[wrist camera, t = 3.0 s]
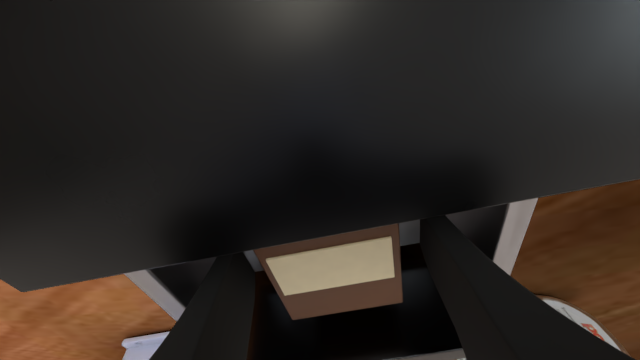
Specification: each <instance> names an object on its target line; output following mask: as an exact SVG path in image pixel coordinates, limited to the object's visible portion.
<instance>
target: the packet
mask: <svg viewBox="0 0 640 360" xmlns="http://www.w3.org/2000/svg"><path fill="white" fill-rule="evenodd" d="M253 251H254V253H255V255H256V256H257V258H258V260H259V262H260V263H261V265H262V267H263V269H264V270H265V272H266V274H267V276H268V278H269V279H270V281H271V283H272V285H273V286H274V288H275V290H276V292H277V293H278V295H279V297H280V299H281V300H282V302H283V304H284V306H285V307H286V309H287V311H288V313H289V315H290V316H291V318H292V320H297V319H303V318H309V317H315V316H322V315H328V314H334V313H340V312H346V311H353V310H359V309H365V308H371V307H377V306H383V305H390V304H396V303H402V302H403V293H402V274H401V255H400V236H399V223H398V224H393V225H388V226H382V227H377V228H371V229H366V230H360V231H355V232H349V233H344V234H338V235H333V236H328V237H322V238H317V239H311V240H306V241H300V242H295V243H289V244H284V245H278V246H273V247H267V248H262V249H257V250H253Z"/></svg>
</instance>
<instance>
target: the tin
mask: <svg viewBox="0 0 640 360" xmlns="http://www.w3.org/2000/svg"><path fill="white" fill-rule="evenodd" d="M536 296H537V297H539V298H540V299H541V300H543V301H544V302H546V303H547V304H548V305H550V306H551V307H553V308H554V309H555V310H557V311H558V312H560V313H561V314H563V315H565V316H566V317H568V318H569V319H571V320H572V321H574V322H575V323H577V324H578V325H580V326H581V327H583V328H585V329H586V330H588V331H589V332H591V333H592V334H594V335H595V336H597V337H599V338H600V339H602V340H604V341H605V342H607V343H609V344H610V345H612V346H613V347H615V348H617V349H618V350H620V351H622V352H623V353H625V354H627V355H629V354H628V352H627V351H626V350H625V348H624V347H623V346H622V345H621V344H620V343H619V341H618V340H617V339H616V338H615V337H614V336H613V335H612V334H611V333H610V332H609V331H608V330H607V329H606V328H605V327H604V326H603V325H602V324H601V323H600V322H599V321H598V320H597V319H596V318H594V317H593V316H591V315H590V314H589V313H587V312H585V311H584V310H582V309H580V308H578V307H577V306H575V305H573V304H571V303H568V302H566V301H563V300H561V299H558V298H554V297H550V296H543V295H536ZM629 356H630V355H629ZM630 357H631V356H630ZM455 360H467V359H466V358H462V359H455Z"/></svg>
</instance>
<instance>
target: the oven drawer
mask: <svg viewBox="0 0 640 360" xmlns="http://www.w3.org/2000/svg"><path fill="white" fill-rule="evenodd" d="M537 200H538V198H535V199H530V200H524V201H519V202H513V203H508V204H502V205H497V206H491V207H486V208H480V209H475V210H469V211H464V212H459V213H453V214H448V215H445V216H446V217H447V218H448V219H449V220H450V221H451V222H452V223H453V224H454V225H455V226H456V227H457V228H458V229H459V230H460V231H461V232H462V233H463V234H464V235H465V236H466V237H467V238H468V239H469V240H470V241H471V242H472V243H473V244H474V245H475V246H476V247H478V248H479V249H480V250H481V251H482V252H483V253H484V254H485V255H486V256H487V257H488V258H490V259H491V260H492V261H493V262H494V263H495V264H497V265H498V266H499V267H500V268H501V269H502V270H504V271H505V272H506V273H507V274H509V275H510V274H511V271H512V269H513V266H514V263H515V260H516V258H517V255H518V252H519V249H520V247H521V244H522V241H523V238H524V236H525V233H526V230H527V227H528V225H529V222H530V219H531V216H532V214H533V211H534V208H535V205H536V203H537ZM399 236H400V255H401V274H402V293H403V302H402V303H396V304H390V305H383V306H377V307H371V308H365V309H359V310H353V311H346V312H340V313H334V314H328V315H322V316H315V317H309V318H303V319H297V320H292V318H291V316H290V315H289V313H288V311H287V309H286V307H285V306H284V304H283V302H282V300H281V299H280V297H279V295H278V293H277V292H276V290H275V288H274V286H273V285H272V283H271V281H270V279H269V278H268V276H267V274H266V272H265V270H264V269H263V267H262V265H261V263H260V262H259V260H258V258H257V256H256V255H255V253H254V251H253V250H251V251H246V252H243V253H244V255H245V256H246V258H247V260H248V261H249V263H250V264H251V266H252V268H253V269H254V271H255V301H254V308H253V316H252V323H251V330H250V337H249V344H248V351H247V359H246V360H455V359H462V358H466V356H465V354H464V351H463V348H462V345H461V342H460V340H459V337H458V334H457V332H456V329H455V327H454V325H453V322H452V320H451V318H450V316H449V314H448V312H447V309H446V307H445V305H444V303H443V301H442V299H441V296H440V294H439V292H438V290H437V288H436V285H435V283H434V281H433V279H432V277H431V274H430V272H429V270H428V268H427V265H426V262H425V259H424V256H423V253H422V249H421V246H420V220H415V221H409V222H404V223H399ZM215 259H216V257H213V258H207V259H202V260H196V261H191V262H186V263H180V264H175V265H169V266H164V267H158V268H153V269H147V270H142V271H136V272H131V273H125V275H126V276H127V277H128V278H129V279H130V280H131V281H132V282H134V283H135V284H136V285H137V286H138V287H139V288H140V289H141V290H142V291H144V292H145V293H146V294H147V295H148V296H149V297H150V298H151V299H152V300H154V301H155V302H156V303H157V304H158V305H159V306H160V307H161V308H162V309H164V310H165V311H166V312H167V313H168V314H169V315H170V316H171V317H172V318H174V319H175V320H176V321H178V319H179V318H180V316H181V315H182V313H183V312H184V310H185V309H186V307H187V306H188V304H189V303H190V301H191V300H192V298H193V296H194V295H195V293H196V291H197V290H198V288H199V286H200V285H201V283H202V281H203V280H204V278H205V276H206V275H207V273H208V271H209V270H210V268H211V266H212V264H213V263H214V261H215Z"/></svg>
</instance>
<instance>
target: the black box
mask: <svg viewBox="0 0 640 360" xmlns="http://www.w3.org/2000/svg"><path fill="white" fill-rule="evenodd" d="M639 179H640V0H0V279H1V280H3V281H4V282H6V283H8V284H9V285H11V286H12V287H14V288H16V289H17V290H19V291H21V292H27V291H33V290H38V289H44V288H49V287H55V286H60V285H65V284H71V283H76V282H82V281H87V280H93V279H98V278H104V277H109V276H115V275H120V274H125V273H131V272H136V271H142V270H147V269H153V268H158V267H164V266H169V265H175V264H180V263H186V262H191V261H196V260H202V259H207V258H213V257H218V256H224V255H229V254H235V253H240V252H246V251H251V250H257V249H262V248H267V247H273V246H278V245H284V244H289V243H295V242H300V241H306V240H311V239H317V238H322V237H328V236H333V235H338V234H344V233H349V232H355V231H360V230H366V229H371V228H377V227H382V226H388V225H393V224H398V223H404V222H409V221H415V220H420V219H426V218H431V217H437V216H442V215H448V214H453V213H459V212H464V211H469V210H475V209H480V208H486V207H491V206H497V205H502V204H508V203H513V202H519V201H524V200H530V199H535V198H540V197H546V196H551V195H557V194H562V193H568V192H573V191H579V190H584V189H590V188H595V187H601V186H606V185H611V184H617V183H622V182H628V181H633V180H639Z"/></svg>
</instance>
